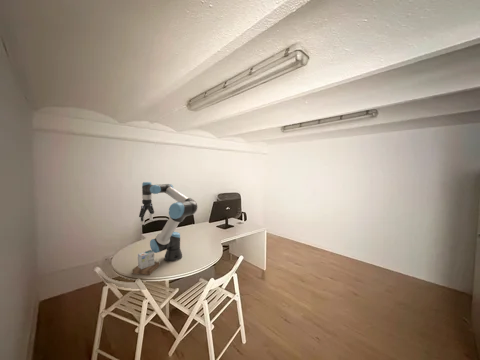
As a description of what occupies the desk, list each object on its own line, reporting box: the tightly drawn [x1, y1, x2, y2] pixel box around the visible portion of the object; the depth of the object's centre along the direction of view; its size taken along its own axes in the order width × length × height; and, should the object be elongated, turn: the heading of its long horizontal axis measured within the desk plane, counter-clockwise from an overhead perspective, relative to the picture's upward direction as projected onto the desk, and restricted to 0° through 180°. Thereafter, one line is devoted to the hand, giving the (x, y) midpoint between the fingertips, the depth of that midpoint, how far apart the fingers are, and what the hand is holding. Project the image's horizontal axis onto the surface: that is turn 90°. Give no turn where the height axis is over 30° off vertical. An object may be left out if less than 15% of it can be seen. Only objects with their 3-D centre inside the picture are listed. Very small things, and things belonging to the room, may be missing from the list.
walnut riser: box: [131, 261, 160, 276], centre depth 157 cm, size 14×14×3 cm
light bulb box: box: [137, 249, 155, 269], centre depth 157 cm, size 11×7×11 cm, turn 140°
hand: (147, 222), depth 178 cm, fingers open, 13 cm apart
